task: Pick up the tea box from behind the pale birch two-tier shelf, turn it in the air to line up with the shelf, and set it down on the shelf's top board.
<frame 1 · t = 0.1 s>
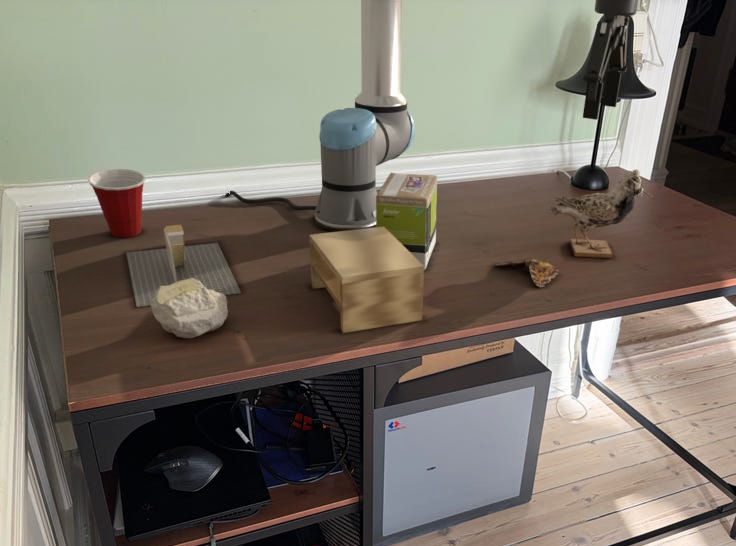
hand: (599, 112, 143), 28 cm above the table, tool pointing down, fingers open, 13 cm apart
tea box: (407, 255, 150), on the table
plastic cup: (126, 233, 153), on the table
model: (180, 272, 138), on the table
white rock: (195, 331, 119), on the table
butterfly model: (531, 273, 144), on the table
stuffed bird: (591, 251, 156), on the table
birch shelf: (364, 302, 130), on the table
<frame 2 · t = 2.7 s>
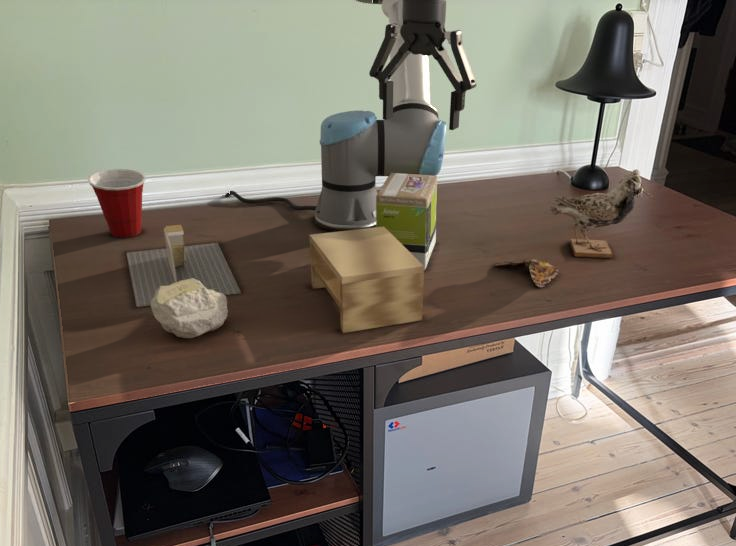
hand: (420, 123, 137), 26 cm above the table, tool pointing down, fingers open, 13 cm apart
nothing on the table moved.
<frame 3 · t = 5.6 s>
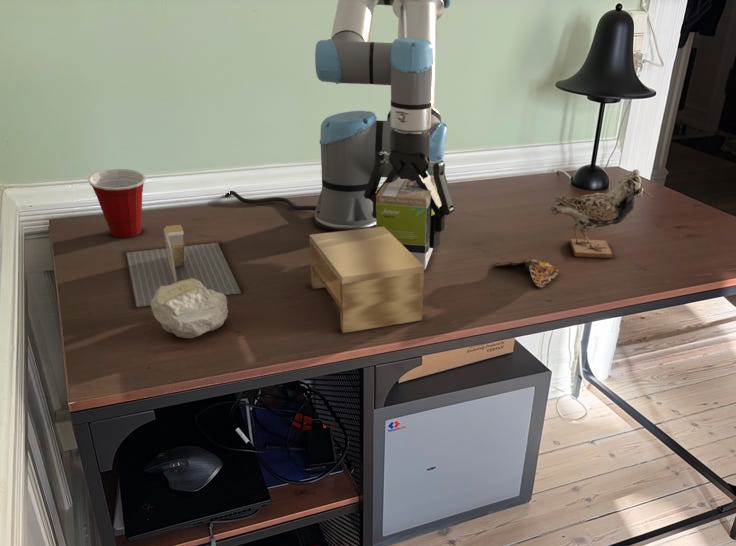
hand: (407, 240, 148), 3 cm above the table, tool pointing down, fingers closed on tea box, 11 cm apart
tea box: (406, 255, 150), on the table, touching gripper
everything else where it was.
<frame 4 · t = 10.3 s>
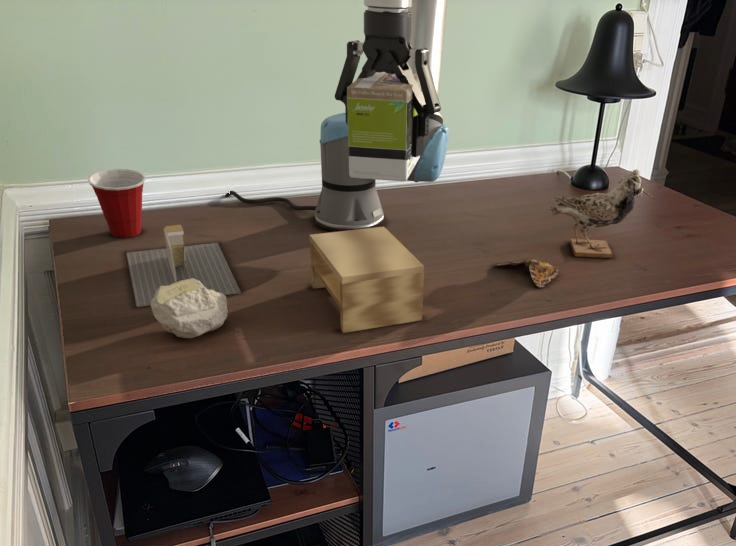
hand: (386, 150, 126), 24 cm above the table, tool pointing down, fingers closed on tea box, 11 cm apart
tea box: (385, 169, 128), point 21 cm above the table, touching gripper
everything else where it was.
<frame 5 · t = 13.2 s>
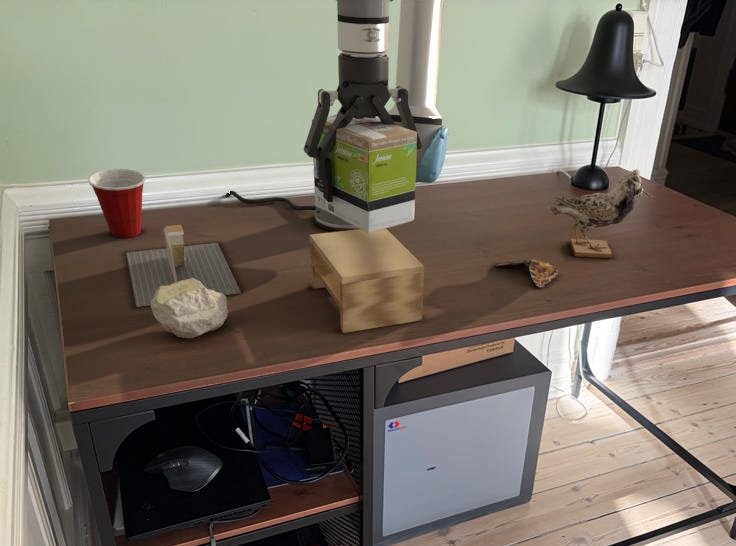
hand: (364, 196, 120), 19 cm above the table, tool pointing down, fingers closed on tea box, 11 cm apart
tea box: (363, 216, 122), point 16 cm above the table, touching gripper
everything else where it was.
when the fingers open (13 cm above the table, at t = 15.3 s): tea box stays where it is, resting on birch shelf.
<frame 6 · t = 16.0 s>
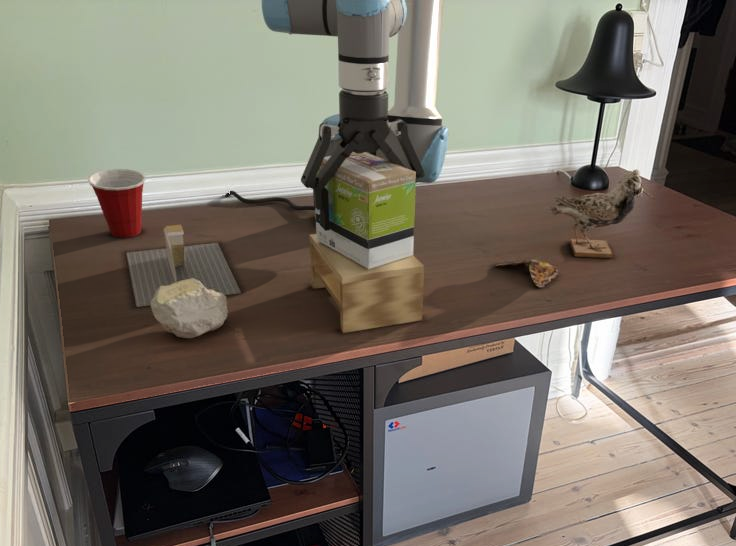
hand: (364, 223, 122), 15 cm above the table, tool pointing down, fingers open, 13 cm apart
tea box: (364, 250, 125), point 10 cm above the table, touching birch shelf
everything else where it was.
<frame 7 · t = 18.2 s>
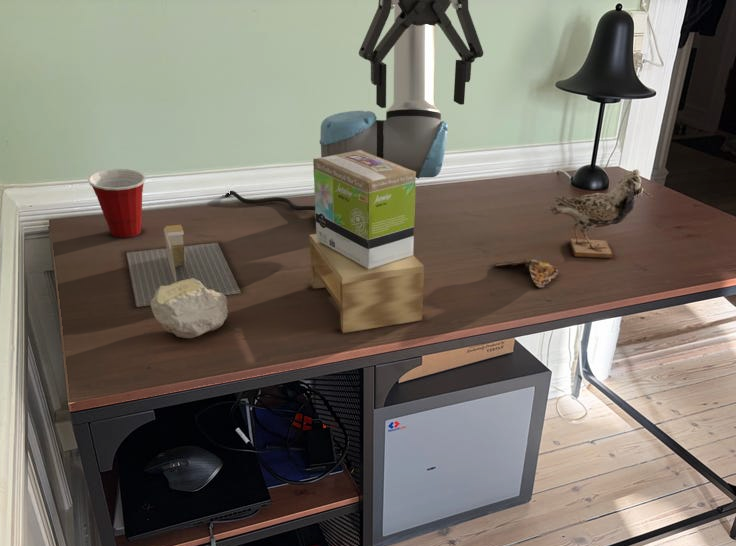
hand: (420, 104, 120), 32 cm above the table, tool pointing down, fingers open, 13 cm apart
nothing on the table moved.
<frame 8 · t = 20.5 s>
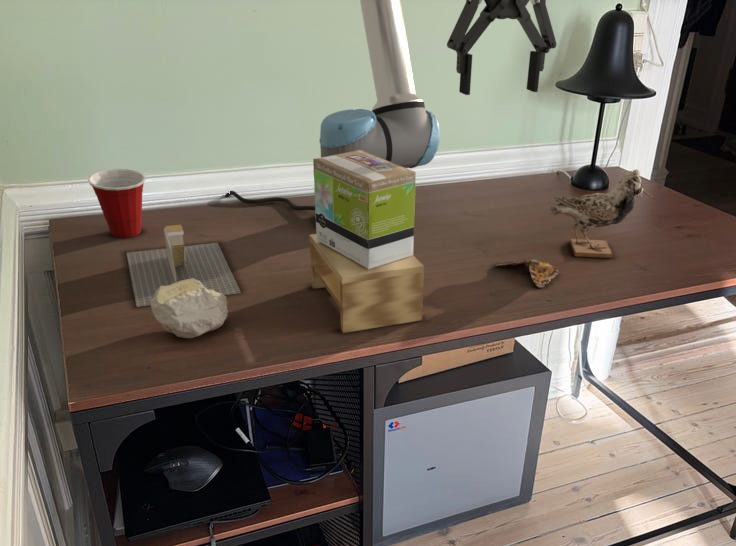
hand: (498, 92, 131), 33 cm above the table, tool pointing down, fingers open, 13 cm apart
nothing on the table moved.
at the end: tea box inside the target area on the birch shelf (0.0 cm from its centre), point 9.8 cm above the birch shelf's base; tea box tilted 0°; the gripper is holding nothing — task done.
